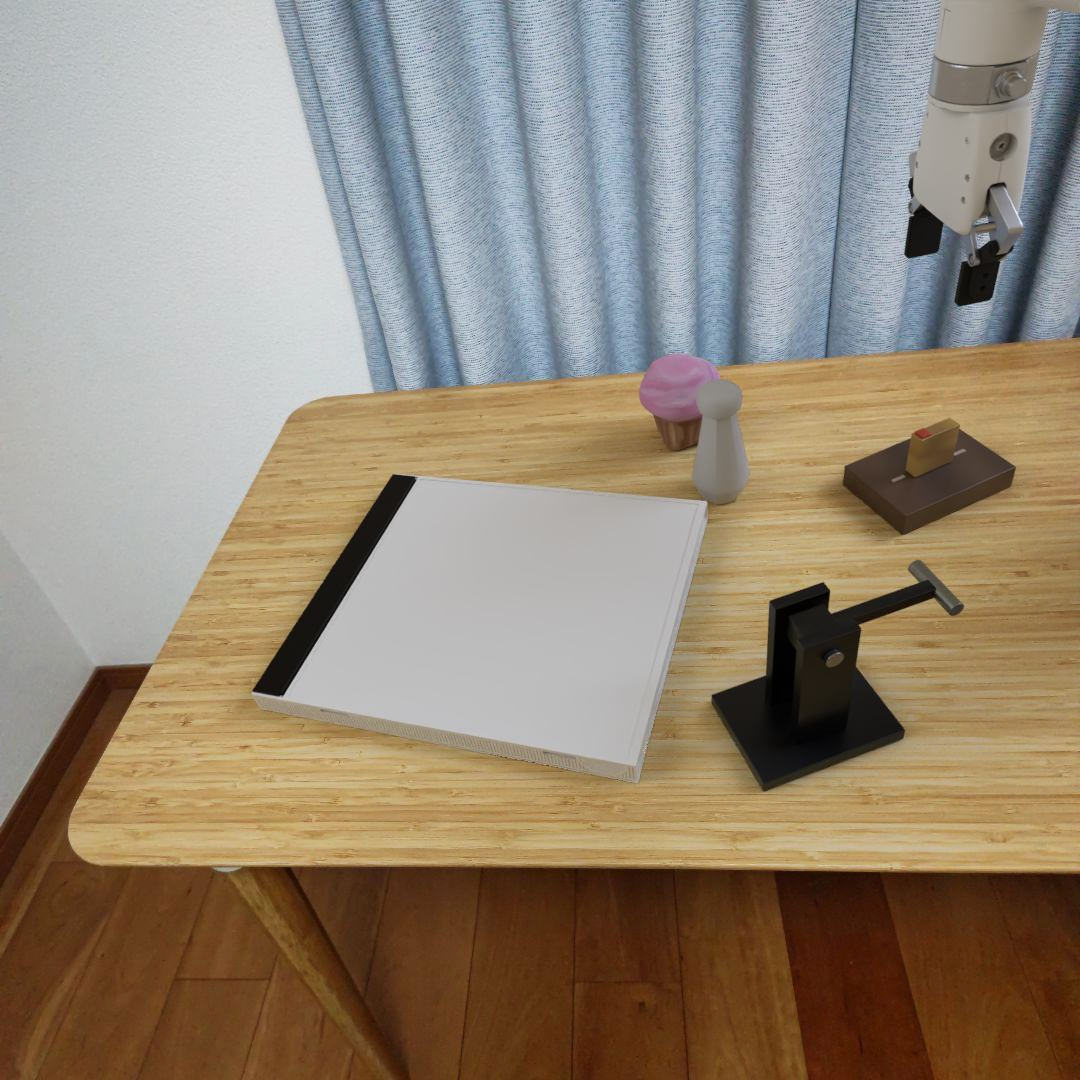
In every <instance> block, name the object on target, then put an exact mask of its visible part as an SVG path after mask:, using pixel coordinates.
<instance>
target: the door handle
mask: <svg viewBox="0 0 1080 1080" xmlns="http://www.w3.org/2000/svg"><path fill="white" fill-rule="evenodd" d="M907 571H908V572H909V574H911V575H912V577H913V578H914V579H915V580H916V581H917V583H914V584H911V585H908V586H906V587H902V588H899V589H896V590H894V591H892V592H888V593H886V594H883V595H880V596H878V597H875V598H872V599H869V600H866V601H864V602H860V603H857V604H855V605H852V606H849V607H847V608H844V609H840V610H838V611H834V612H830V610H829V608H828V609H827V608H826V607H825V605H824V604H821V605H818V606H815V607H812V608H810V609H807V610H804V611H801V612H798V613H795V614H792V615H790V616H789V617H788V632H787V638H788V639H789V641H790V642H791V643H792V645H793V646H794V647H795V649H796V650H797V640H798V639H800V638H802V637H805V636H808V635H811V634H814V633H816V632H819V631H822V630H825V629H828V628H831V627H833V626H836V625H839V624H842V623H845V622H847V621H850V620H853V619H854V620H855V621H856V622H857V624H858V625H859V626H860V625H862V624H867V623H868V622H871V621H875V620H877V619H879V618H883V617H885V616H888V615H891V614H894V613H896V612H897V613H898V612H899V611H902V610H905V609H908V608H910V607H913V606H916V605H919V604H922V603H924V602H927V601H930V600H933V599H934V600H935V601H936V602H937V603H938V604H939V605H940V607H941V608H942V609H943V610H944V611H945V612H946V613H947V614H948V615H949V616H950V617H955V616H957V615H959V614H960V613H962V612H963V610H964V609H965V603H964V602H962V601H961V600H960V599H959V597H957V595H955V594H954V593H953V592H952V590H951V589H949V588H948V587H947V586H946V584H945V583H944V582H943V581H941V579H940V578H939V577H938V576H937V575H936V574H935V573H934V572H933V571H932V570H931V569H930V568H929V567H928V566H927V565H926V563H924V562H923V561H922V560H921V559H916V560H913V561H911V563H910V564H909V565H908V566H907Z"/></svg>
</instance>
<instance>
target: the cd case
mask: <svg viewBox="0 0 1080 1080" xmlns="http://www.w3.org/2000/svg"><path fill="white" fill-rule="evenodd" d="M708 513H709V511H708V501H707V500H699V499H687V498H686V499H685V498H676V497H675V498H673V497H663V496H652V495H641V494H630V493H621V492H608V491H597V490H585V489H573V488H562V487H550V486H539V485H527V484H517V483H507V482H506V483H504V482H496V481H495V482H493V481H485V480H484V481H482V480H472V479H461V478H460V479H459V478H449V477H448V478H447V477H436V476H428V475H427V476H426V475H415V474H403V473H392V475H391V476H390V478H389V479H388V481H387V482H386V483H385V485H384V487H383V488H382V490H381V492H380V494H379V495H378V496H377V498H376V499H375V501H374V502H373V504H372V505H371V507H370V508H369V510H368V512H367V513H366V515H365V516H364V518H363V519H362V521H361V522H360V523H359V526H358V527H357V529H356V530H355V531H354V533H353V535H352V536H351V538H350V539H349V541H348V542H347V544H346V546H345V547H344V549H343V550H342V551H341V553H340V554H339V556H338V557H337V559H336V560H335V562H334V564H333V565H332V567H331V569H330V570H329V572H328V573H327V575H326V576H325V578H324V579H323V581H322V582H321V584H320V585H319V587H318V589H317V590H316V591H315V593H314V595H313V596H312V598H311V599H310V600H309V602H308V604H307V606H306V607H305V609H304V610H303V611H302V613H301V615H300V616H299V617H298V619H297V620H296V622H295V624H294V626H293V627H292V628H291V630H290V631H289V632H288V635H287V636H286V638H285V639H284V641H283V642H282V644H281V645H280V647H279V648H278V650H277V651H276V653H275V655H274V656H273V657H272V659H271V661H270V662H269V664H268V665H267V666H266V669H265V670H264V671H263V673H262V674H261V676H260V678H259V679H258V680H257V682H256V684H255V685H254V687H253V689H252V692H251V693H250V694H251V696H252V698H253V700H254V702H255V703H256V704H257V706H258V708H259V709H261V710H262V711H268V712H269V711H270V712H274V713H279V714H283V715H289V716H294V717H298V718H303V719H308V720H314V721H319V722H322V723H323V722H324V723H328V724H333V725H339V726H344V727H349V728H355V729H359V730H364V731H369V732H375V733H378V734H379V733H380V734H385V735H390V736H395V737H400V738H405V739H409V740H414V741H420V742H425V743H431V744H436V745H439V746H445V747H451V748H455V749H460V750H465V751H470V752H474V753H481V754H485V753H486V755H490V754H492V755H491V756H495V755H496V757H500V756H502V757H501V758H505V757H507V758H506V759H510V758H511V759H510V760H515V759H517V761H520V760H524V761H523V762H525V761H528V762H527V763H531V762H535V763H534V764H536V763H539V764H538V765H541V764H546V765H549V766H548V767H551V766H553V767H552V768H556V767H558V768H557V769H561V768H563V769H562V770H566V771H570V772H577V773H581V774H585V775H586V774H587V773H588V774H587V775H591V774H592V776H597V777H602V778H606V777H607V778H608V779H612V780H617V779H618V781H622V780H623V781H622V782H627V783H631V784H637V783H638V784H639V781H640V778H641V774H642V770H643V767H642V766H644V763H645V759H644V758H646V755H647V751H648V748H649V744H648V743H646V742H649V743H650V740H649V738H650V739H651V737H652V736H651V735H652V733H651V731H652V732H653V729H654V725H655V721H656V717H657V714H656V712H657V713H658V711H659V710H658V709H659V706H660V702H661V698H662V695H661V694H663V691H664V687H665V683H666V680H667V676H668V672H669V668H670V664H671V661H672V656H673V653H674V648H675V645H676V641H677V638H678V634H679V630H680V627H681V623H682V619H683V615H684V611H685V607H686V604H687V601H688V600H687V599H688V596H689V592H690V588H691V585H692V580H693V577H694V573H695V570H696V566H697V562H698V558H699V554H700V551H701V547H702V543H703V540H704V535H705V532H706V528H707V524H708V521H709V516H708V515H709V514H708ZM662 690H663V691H662ZM659 701H660V702H659ZM658 705H659V706H658ZM655 716H656V717H655ZM654 720H655V721H654ZM653 724H654V725H653ZM652 728H653V729H652ZM647 744H648V745H647ZM645 746H646V747H645ZM647 747H648V748H647ZM645 748H647V749H645ZM643 750H644V751H643ZM646 750H647V751H646ZM644 752H646V753H644ZM645 754H646V755H645ZM497 755H498V756H497ZM546 765H545V766H546ZM554 766H555V767H554ZM567 769H568V770H567ZM607 778H606V779H607Z"/></svg>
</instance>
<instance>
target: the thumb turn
mask: <svg viewBox="0 0 1080 1080" xmlns="http://www.w3.org/2000/svg"><path fill="white" fill-rule="evenodd" d="M959 429H961V423H959V422H957V421H956V420H954V419H952V417H948V418H945V419H943V420H940V421H938V422H936V423H934V424H931V425H929V426H926V427H922V428H920V429H917V430H915V431H913V432H912V433H911V436H910V438H911V441H910V447H909V453H908V458H907V464H906V471H907V472H909V473H910V474H911V475H913V476H914V477H917V476H920V475H922V474H924V473H927V472H929V471H931V470H934V469H936V468H938V467H940V466H943V465H945V464H947V463H950V462H952V461H953V456H954V451H955V447H956V442H957V437H958V433H959Z"/></svg>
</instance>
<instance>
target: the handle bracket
mask: <svg viewBox="0 0 1080 1080" xmlns="http://www.w3.org/2000/svg"><path fill="white" fill-rule="evenodd" d="M830 598H831V589H830V588H829V587H828V586H827V585H826V583H825V582H823V581H822V582H819V583H816V584H814V585H811V586H808V587H805V588H802V589H799V590H796V591H794V592H793V591H792V592H790V593H788V594H785V595H782V596H779V597H776V598H773V599H771V600H770V599H769V600H768V619H767V643H766V644H767V645H766V664H765V666H766V667H765V675H763V676H759V677H757V678H755V679H752V680H749V681H746V682H743V683H741V684H738V685H735V686H732V687H730V688H726V689H723V690H721V691H719V692H716V693H713V694H711V695H710V696H711V699H710V700H711V706H712V707H713V708H714V710H715V712H716V714H717V716H718V718H719V719H720V720H721V722H722V724H723V726H724V727H725V729H726V731H727V733H728V734H729V736H730V737H731V739H732V741H733V742H735V743H734V745H735V746H736V747H737V749H738V752H739V753H740V754H741V756H742V758H743V760H744V761H745V763H746V765H747V767H748V768H749V770H750V772H751V773H752V775H753V776H754V778H755V780H756V782H757V783H758V785H759V787H760V786H761V787H760V788H761V790H762V792H766V791H769V790H771V789H774V788H778V787H780V786H783V785H785V784H787V783H790V782H793V781H796V780H798V779H800V778H804V777H805V776H808V775H812V774H814V773H816V772H819V771H822V770H825V769H827V768H830V767H832V766H835V765H838V764H840V763H843V762H846V761H848V760H850V759H853V758H857V757H859V756H861V755H864V754H867V753H870V752H872V751H875V750H878V749H880V748H882V747H885V746H888V745H891V744H893V743H895V742H898V741H901V740H904V738H905V735H906V729H905V727H904V726H903V725H902V724H901V722H900V721H899V720H898V718H897V717H896V716H895V715H894V714H893V712H892V711H891V710H890V708H889V707H888V706H887V705H886V703H885V702H884V701H883V699H882V698H881V697H880V696H879V694H878V693H877V691H876V690H875V689H874V688H873V686H872V685H871V684H870V682H869V681H868V680H867V679H866V677H865V676H864V675H863V673H862V672H861V671H860V670H859V669H858V667H857V661H858V653H859V648H860V641H861V635H862V627H861V626H860V625H858V624H857V622H856V621H855V620H854V619H853V620H850V621H847V622H845V623H842V624H839V625H836V626H833V627H831V628H828V629H825V630H822V631H819V632H816V633H814V634H811V635H808V636H805V637H802V638H800V639H798V640H797V650H796V649H795V647H794V646H793V645H792V643H791V642H790V641H789V639H788V638H787V632H788V617H789V616H790V615H792V614H795V613H798V612H801V611H804V610H807V609H810V608H812V607H815V606H818V605H821V604H824V605H825V607H826V608H827V609H828V610H829V607H830V600H831V599H830Z"/></svg>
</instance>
